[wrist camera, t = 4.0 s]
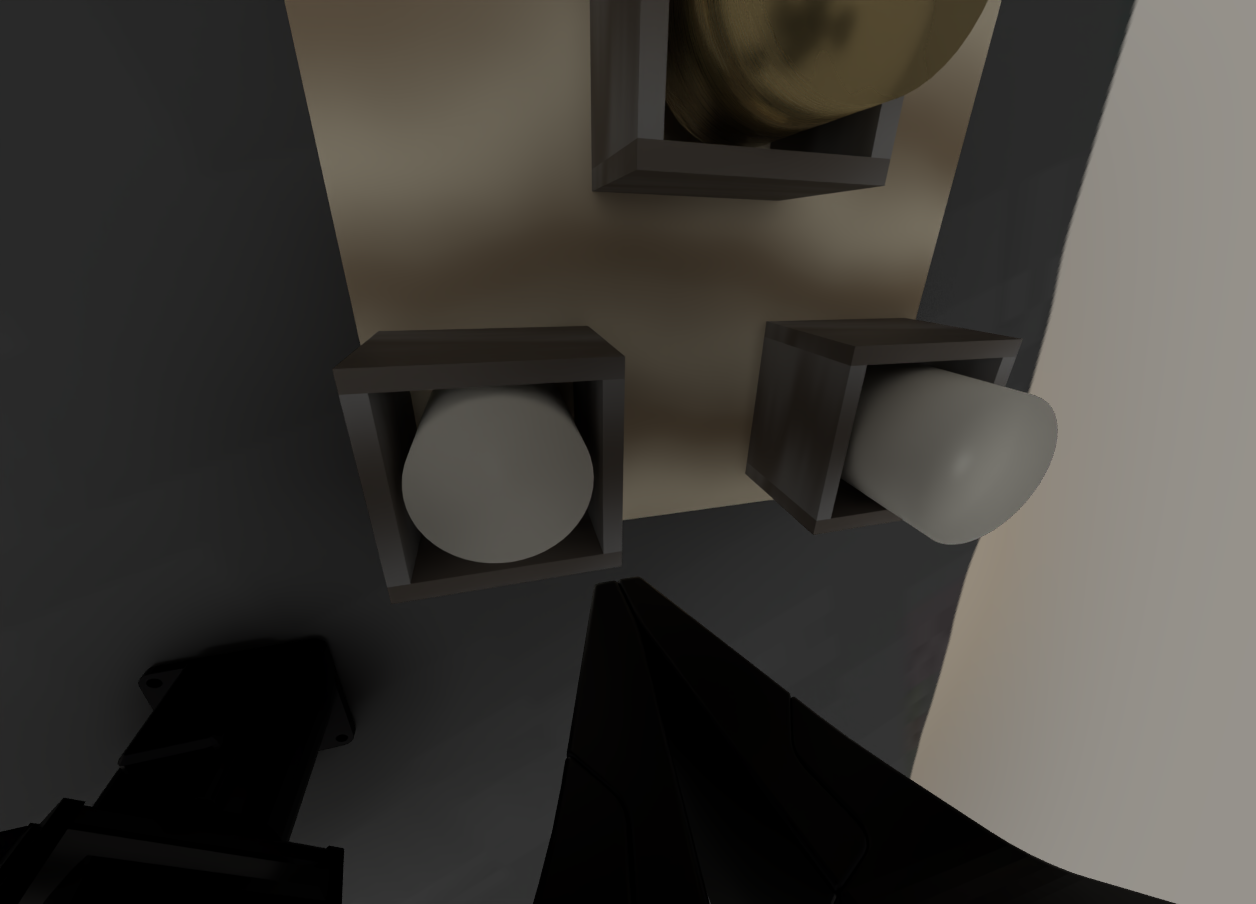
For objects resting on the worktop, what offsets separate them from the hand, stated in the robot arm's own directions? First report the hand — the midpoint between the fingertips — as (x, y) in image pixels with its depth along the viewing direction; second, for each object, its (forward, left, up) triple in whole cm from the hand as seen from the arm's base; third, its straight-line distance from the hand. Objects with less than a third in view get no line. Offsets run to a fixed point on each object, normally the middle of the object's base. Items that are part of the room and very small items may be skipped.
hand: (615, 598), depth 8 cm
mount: (+5, -5, -12) cm, 14 cm away
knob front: (0, +2, -10) cm, 10 cm away
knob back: (0, -12, -8) cm, 14 cm away
